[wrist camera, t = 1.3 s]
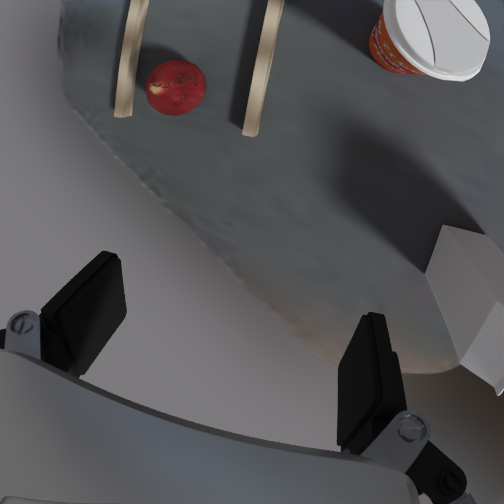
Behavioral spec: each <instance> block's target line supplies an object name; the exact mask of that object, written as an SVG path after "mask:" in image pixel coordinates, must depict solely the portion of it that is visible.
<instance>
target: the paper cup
mask: <svg viewBox="0 0 504 504" xmlns="http://www.w3.org/2000/svg"><path fill="white" fill-rule="evenodd" d="M489 44H490V33H489V28H488V24H487V22H486V19H485V17H484V15H483V13H482V11H481V9H480V8H479V6H478V5H477V3H476V2H475V1H474V0H385V1H384V7H383V12H382V14H381V15H380V17H379V19H378V21H377V22H376V24H375V26H374V28H373V30H372V32H371V34H370V38H369V49H370V52H371V55H372V57H373V58H374V60H375V61H376V62H377V63H378V64H379V65H380V66H381V67H383V68H384V69H386V70H388V71H391V72H394V73H402V74H427V75H430V76H433V77H435V78H438V79H443V80H454V81H465V80H468V79H470V78H472V77H473V76H475V75H476V74H477V73H478V72H479V71H480V69H481V67H482V64H483V62H484V60H485V57H486V54H487V51H488V48H489Z"/></svg>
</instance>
